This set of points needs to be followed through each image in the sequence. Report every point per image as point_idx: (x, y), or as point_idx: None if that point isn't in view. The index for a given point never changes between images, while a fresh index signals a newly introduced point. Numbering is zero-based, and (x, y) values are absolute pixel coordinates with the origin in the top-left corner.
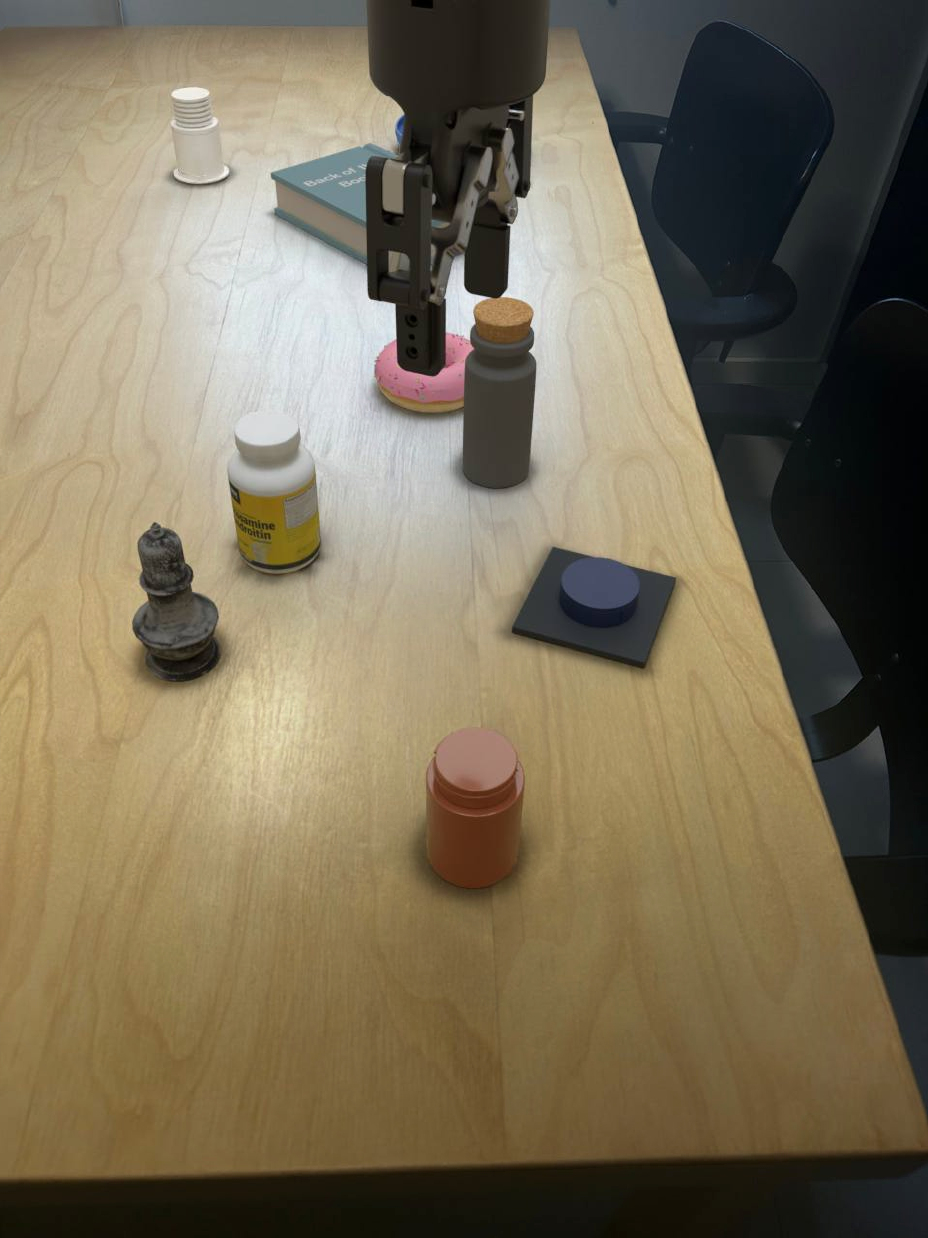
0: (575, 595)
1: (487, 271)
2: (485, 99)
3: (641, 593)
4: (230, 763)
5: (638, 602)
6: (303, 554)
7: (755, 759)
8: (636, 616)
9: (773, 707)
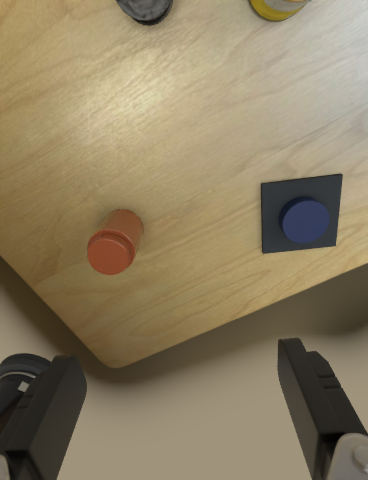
0: (289, 215)
1: (288, 390)
2: None
3: None
4: (96, 92)
5: None
6: (266, 17)
7: (228, 305)
8: None
9: (261, 304)
